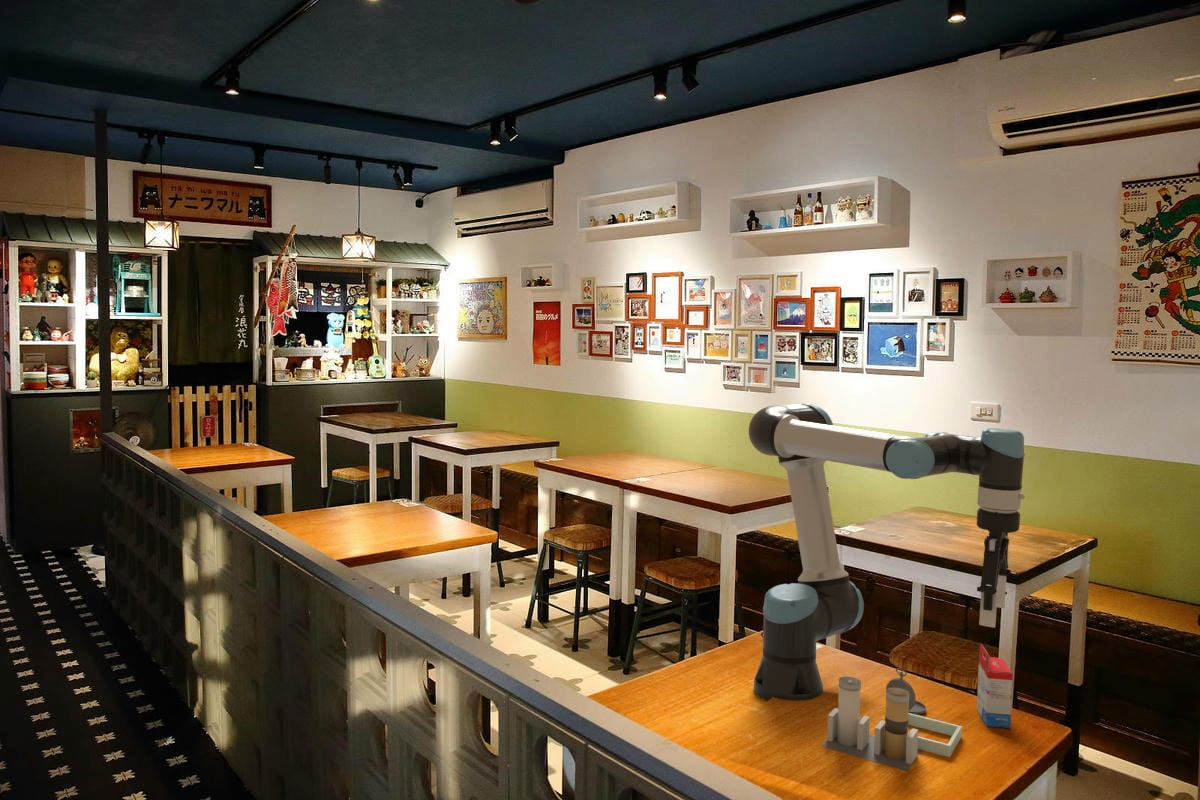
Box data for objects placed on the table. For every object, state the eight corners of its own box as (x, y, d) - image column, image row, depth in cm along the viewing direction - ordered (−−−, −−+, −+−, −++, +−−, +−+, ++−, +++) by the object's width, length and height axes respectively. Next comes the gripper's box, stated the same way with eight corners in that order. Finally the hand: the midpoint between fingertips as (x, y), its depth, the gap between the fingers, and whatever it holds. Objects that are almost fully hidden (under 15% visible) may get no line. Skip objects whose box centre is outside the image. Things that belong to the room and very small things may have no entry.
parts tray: (884, 746, 164) (884, 728, 163) (898, 727, 172) (899, 710, 171) (949, 764, 157) (950, 746, 156) (961, 744, 165) (961, 726, 165)
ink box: (1011, 729, 172) (1014, 659, 171) (985, 726, 173) (988, 656, 172) (1000, 711, 180) (1003, 644, 179) (975, 709, 181) (978, 642, 180)
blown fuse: (881, 755, 157) (883, 693, 156) (887, 747, 160) (889, 685, 159) (903, 762, 154) (906, 698, 154) (909, 753, 158) (912, 691, 157)
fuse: (833, 742, 162) (835, 681, 161) (841, 734, 165) (842, 674, 164) (855, 748, 160) (857, 686, 159) (861, 740, 163) (863, 679, 162)
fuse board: (820, 753, 160) (821, 720, 160) (838, 733, 169) (839, 702, 168) (907, 779, 151) (908, 744, 151) (921, 757, 160) (922, 723, 159)
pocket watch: (925, 705, 182) (927, 660, 182) (926, 722, 174) (928, 675, 174) (885, 700, 185) (887, 655, 184) (885, 716, 177) (886, 669, 176)
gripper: (1012, 523, 150) (1005, 639, 152) (1027, 501, 171) (1020, 602, 173) (967, 517, 154) (960, 630, 156) (986, 496, 175) (981, 596, 177)
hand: (992, 616), depth 165 cm, fingers open, 13 cm apart
